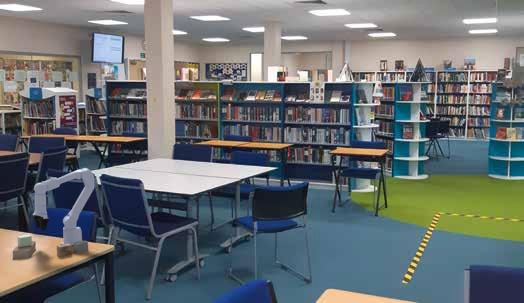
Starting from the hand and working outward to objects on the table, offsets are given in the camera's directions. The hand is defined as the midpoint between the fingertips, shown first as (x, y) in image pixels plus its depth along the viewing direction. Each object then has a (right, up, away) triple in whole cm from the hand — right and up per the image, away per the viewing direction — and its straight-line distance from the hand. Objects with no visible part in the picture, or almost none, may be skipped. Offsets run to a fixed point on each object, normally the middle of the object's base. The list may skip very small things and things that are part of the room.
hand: (41, 229), depth 283 cm
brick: (-5, -12, -9) cm, 16 cm away
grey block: (+24, -11, -5) cm, 27 cm away
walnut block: (+17, -12, -10) cm, 23 cm away
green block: (-5, -7, -9) cm, 12 cm away
